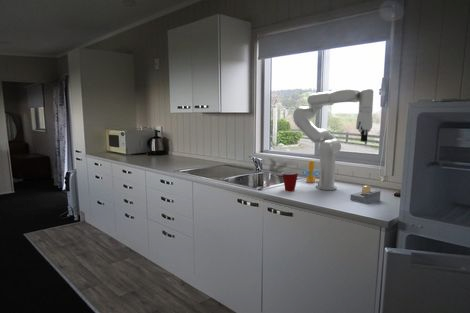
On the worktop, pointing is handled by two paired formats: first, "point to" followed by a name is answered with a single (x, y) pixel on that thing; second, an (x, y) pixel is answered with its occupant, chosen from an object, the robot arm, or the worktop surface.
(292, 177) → the plastic cup
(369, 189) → the bushing
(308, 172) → the toy airplane
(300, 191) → the worktop surface
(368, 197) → the jig
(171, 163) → the worktop surface
